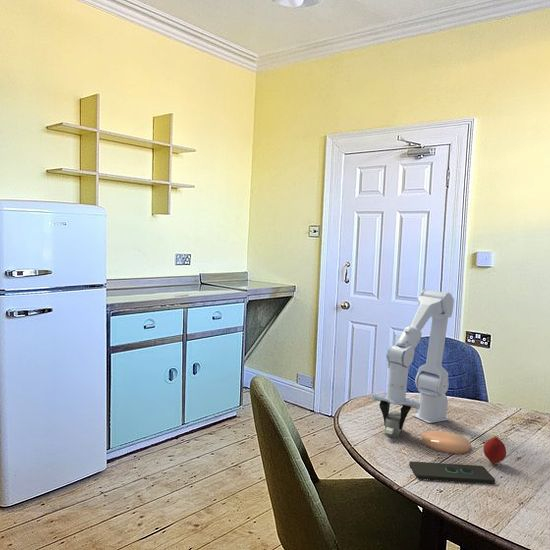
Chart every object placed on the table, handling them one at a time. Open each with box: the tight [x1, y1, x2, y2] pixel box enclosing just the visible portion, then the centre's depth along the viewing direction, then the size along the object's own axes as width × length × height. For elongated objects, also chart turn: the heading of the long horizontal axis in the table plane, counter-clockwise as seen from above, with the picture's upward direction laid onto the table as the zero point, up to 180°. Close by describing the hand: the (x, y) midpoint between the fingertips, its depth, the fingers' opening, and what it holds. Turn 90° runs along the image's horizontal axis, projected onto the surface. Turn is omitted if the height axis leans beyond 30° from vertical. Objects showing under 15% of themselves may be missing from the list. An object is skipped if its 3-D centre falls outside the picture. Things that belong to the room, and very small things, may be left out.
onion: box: [482, 434, 507, 465], centre depth 141 cm, size 6×6×8 cm
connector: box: [384, 411, 402, 439], centre depth 159 cm, size 12×4×5 cm, turn 155°
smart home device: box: [408, 460, 496, 485], centre depth 133 cm, size 8×2×20 cm
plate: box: [421, 430, 472, 455], centre depth 153 cm, size 14×14×1 cm
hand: (393, 426), depth 160 cm, fingers closed on connector, 4 cm apart
